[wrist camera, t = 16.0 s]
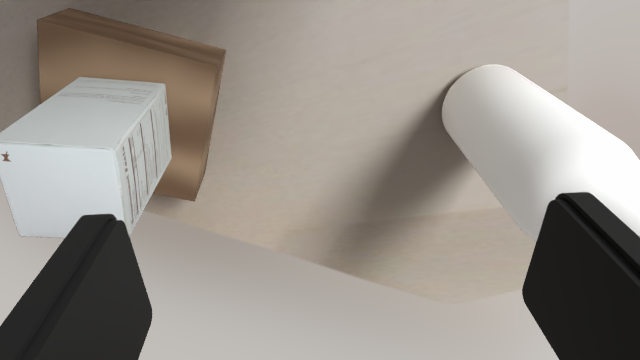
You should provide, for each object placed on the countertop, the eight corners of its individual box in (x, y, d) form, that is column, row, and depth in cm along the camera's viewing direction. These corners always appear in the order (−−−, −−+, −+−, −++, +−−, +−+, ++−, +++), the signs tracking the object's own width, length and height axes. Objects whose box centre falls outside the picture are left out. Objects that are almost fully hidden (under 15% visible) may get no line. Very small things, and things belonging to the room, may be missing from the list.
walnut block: (71, 7, 39) (37, 19, 33) (226, 48, 41) (216, 66, 36) (71, 143, 45) (43, 171, 40) (205, 171, 48) (194, 201, 43)
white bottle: (539, 77, 44) (891, 293, 18) (495, 150, 48) (729, 412, 22) (464, 49, 42) (735, 248, 16) (425, 128, 46) (591, 387, 20)
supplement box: (92, 152, 39) (13, 238, 29) (78, 74, 36) (-18, 137, 25) (174, 159, 40) (128, 245, 29) (169, 82, 36) (114, 148, 26)
